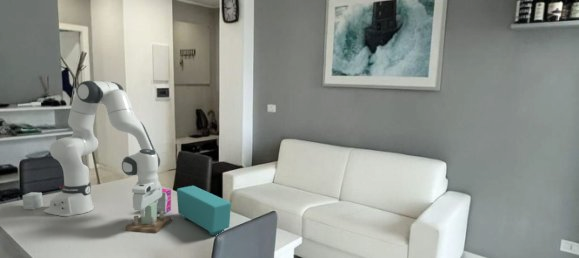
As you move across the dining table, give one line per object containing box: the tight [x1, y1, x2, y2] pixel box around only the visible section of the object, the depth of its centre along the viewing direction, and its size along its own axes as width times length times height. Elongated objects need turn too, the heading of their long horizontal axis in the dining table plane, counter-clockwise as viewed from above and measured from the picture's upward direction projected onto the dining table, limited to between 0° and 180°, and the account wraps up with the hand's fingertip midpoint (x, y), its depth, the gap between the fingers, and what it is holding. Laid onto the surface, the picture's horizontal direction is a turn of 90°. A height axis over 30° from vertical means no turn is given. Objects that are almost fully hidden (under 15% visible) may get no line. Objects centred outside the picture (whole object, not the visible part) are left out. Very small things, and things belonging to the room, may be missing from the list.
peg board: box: [124, 211, 172, 234], centre depth 165 cm, size 15×15×6 cm
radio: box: [176, 185, 232, 236], centre depth 167 cm, size 34×10×15 cm, turn 44°
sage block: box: [140, 202, 158, 225], centre depth 165 cm, size 5×5×9 cm
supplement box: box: [157, 188, 172, 215], centre depth 183 cm, size 6×6×12 cm
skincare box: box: [22, 191, 44, 210], centre depth 183 cm, size 6×6×7 cm
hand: (149, 212), depth 165 cm, fingers open, 8 cm apart
